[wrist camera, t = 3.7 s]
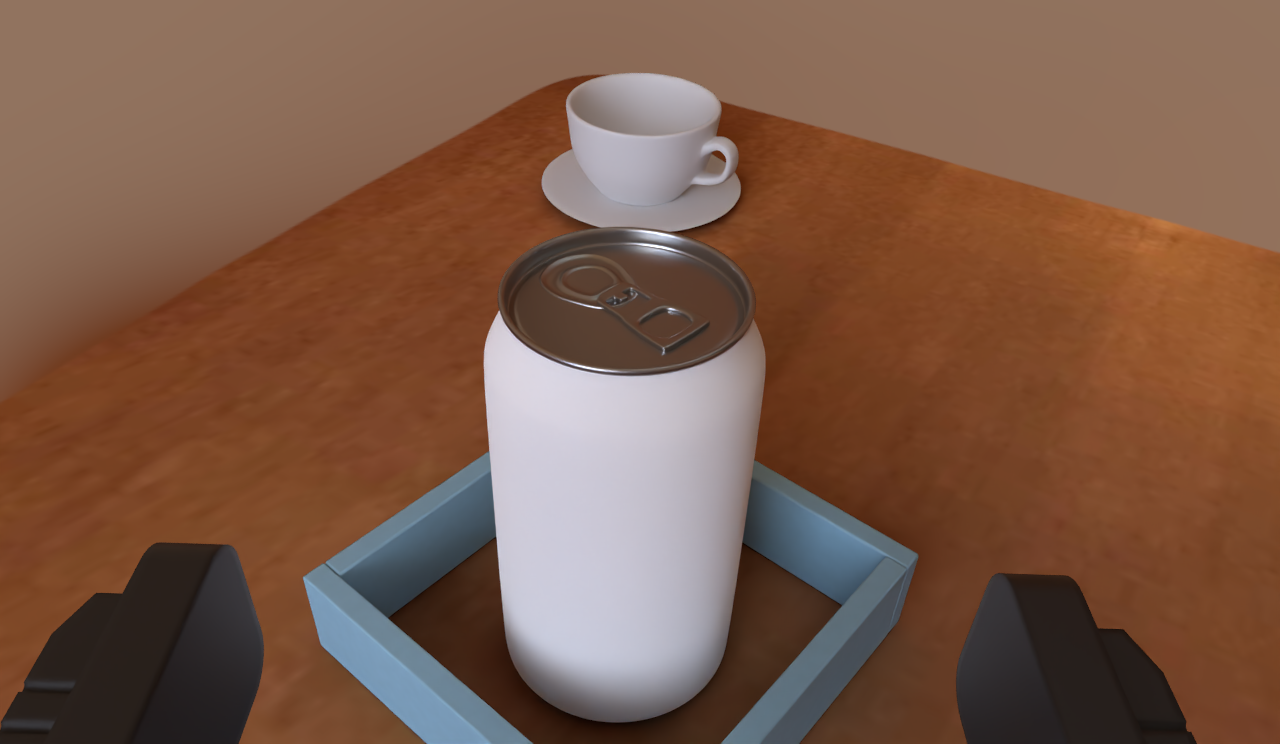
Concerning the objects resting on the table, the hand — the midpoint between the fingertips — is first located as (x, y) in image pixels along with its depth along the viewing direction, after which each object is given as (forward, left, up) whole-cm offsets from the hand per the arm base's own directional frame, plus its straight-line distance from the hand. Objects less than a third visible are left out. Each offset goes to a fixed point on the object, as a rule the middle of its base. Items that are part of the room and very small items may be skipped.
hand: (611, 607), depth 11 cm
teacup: (-30, -24, -16) cm, 41 cm away
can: (-9, -7, -16) cm, 19 cm away
